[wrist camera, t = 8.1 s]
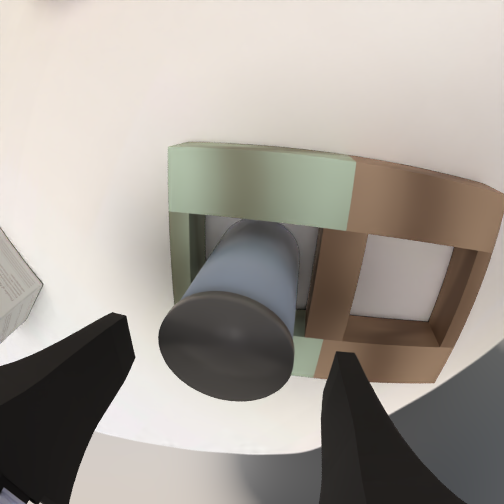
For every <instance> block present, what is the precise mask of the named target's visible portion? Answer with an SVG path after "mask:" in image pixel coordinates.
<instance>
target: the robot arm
mask: <svg viewBox="0 0 504 504" xmlns="http://www.w3.org/2000/svg"><path fill="white" fill-rule="evenodd" d="M134 359H135V354H134V349H133V345H132V341H131V336H130V332H129V327H128V322H127V317H126V316H125V315H121V314H117V313H113V312H112V313H110V314H108V315H106V316H104V317H102V318H100V319H98V320H97V321H95V322H93V323H91V324H89V325H88V326H86V327H84V328H82V329H81V330H79V331H77V332H75V333H74V334H72V335H70V336H68V337H66V338H65V339H63V340H61V341H59V342H57V343H55V344H53V345H51V346H49V347H47V348H45V349H43V350H41V351H39V352H37V353H35V354H33V355H30V356H28V357H25V358H23V359H20V360H18V361H15V362H12V363H9V364H6V365H3V366H0V504H27V503H28V501H29V500H30V501H31V502H33V503H34V504H39V503H40V502H41V503H42V504H69V500H70V496H71V492H72V488H73V484H74V482H75V478H76V475H77V472H78V469H79V466H80V463H81V461H82V458H83V456H84V453H85V450H86V448H87V446H88V443H89V441H90V439H91V437H92V434H93V432H94V430H95V428H96V427H97V425H98V423H99V421H100V420H101V418H102V417H103V415H104V413H105V412H106V410H107V409H108V407H109V405H110V404H111V402H112V401H113V399H114V397H115V396H116V394H117V393H118V391H119V389H120V388H121V386H122V385H123V383H124V381H125V380H126V377H127V375H128V373H129V371H130V369H131V366H132V364H133V362H134ZM321 442H322V484H321V493H320V501H319V504H466V503H465V502H464V501H462V500H461V499H460V498H458V497H457V496H456V495H455V494H454V493H452V492H451V491H450V490H449V489H448V488H447V487H446V486H445V485H443V484H442V483H441V482H440V481H439V480H438V479H437V477H436V476H435V475H434V474H433V473H432V472H431V471H430V470H429V469H428V468H427V467H426V466H425V465H424V464H423V463H422V462H421V461H420V459H419V458H418V457H417V456H416V454H415V453H414V452H413V451H412V449H411V448H410V447H409V445H408V444H407V443H406V442H405V440H404V439H403V437H402V436H401V434H400V433H399V432H398V430H397V429H396V427H395V426H394V424H393V422H392V421H391V419H390V418H389V416H388V414H387V413H386V411H385V409H384V408H383V406H382V404H381V402H380V401H379V399H378V397H377V395H376V394H375V392H374V390H373V388H372V386H371V384H370V382H369V380H368V378H367V376H366V374H365V372H364V370H363V368H362V366H361V364H360V362H359V360H358V358H357V356H356V354H355V353H352V352H341V351H336V353H335V356H334V360H333V363H332V366H331V369H330V372H329V376H328V379H327V382H326V385H325V388H324V391H323V400H322V412H321Z"/></svg>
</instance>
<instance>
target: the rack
mask: <svg viewBox="0 0 504 504" xmlns="http://www.w3.org/2000/svg"><path fill="white" fill-rule="evenodd" d="M168 203H169V231H170V251H171V267H172V281H173V294H174V305H175V304H176V303H178V302H179V301H180V300H181V298H182V297H183V295H184V294H185V292H186V291H187V289H188V288H189V286H190V285H191V283H192V282H193V280H194V279H195V277H196V276H197V274H198V273H199V271H200V270H201V268H202V267H203V265H204V264H205V215H213V216H223V217H232V218H242V219H251V220H261V221H269V222H278V223H287V224H295V225H304V226H312V227H319V231H318V238H317V245H316V252H315V258H314V265H313V271H312V277H311V283H310V289H309V295H308V301H307V306H306V310H299V309H296V312H295V323H294V334H293V342H294V350H295V354H294V364H293V370H292V373H291V375H293V376H301V377H311V378H321V379H328V376H329V372H330V369H331V366H332V363H333V360H334V356H335V353H336V351H341V352H352V353H355V354H356V356H357V358H358V360H359V362H360V364H361V366H362V368H363V370H364V372H365V374H366V376H367V378H368V380H369V382H380V383H435V381H436V379H437V377H438V376H439V374H440V372H441V370H442V369H443V367H444V365H445V363H446V361H447V359H448V357H449V356H450V354H451V352H452V350H453V348H454V346H455V344H456V342H457V340H458V338H459V336H460V333H461V331H462V329H463V327H464V325H465V323H466V320H467V318H468V316H469V314H470V311H471V309H472V307H473V304H474V302H475V299H476V297H477V294H478V292H479V289H480V287H481V284H482V281H483V279H484V276H485V273H486V270H487V267H488V265H489V262H490V259H491V255H492V252H493V249H494V246H495V243H496V239H497V236H498V232H499V229H500V225H501V221H502V217H503V213H504V194H503V193H501V192H499V191H497V190H495V189H493V188H491V187H489V186H487V185H485V184H483V183H479V182H476V181H472V180H468V179H464V178H460V177H456V176H452V175H448V174H444V173H440V172H436V171H431V170H427V169H422V168H417V167H412V166H408V165H403V164H397V163H392V162H387V161H381V160H375V159H369V158H363V157H357V156H350V155H344V154H337V153H329V152H321V151H313V150H305V149H295V148H285V147H274V146H262V145H249V144H232V143H210V142H186V143H181V144H177V145H173V146H169V147H168ZM368 234H373V235H380V236H387V237H394V238H401V239H408V240H414V241H421V242H428V243H434V244H440V245H447V246H453V247H454V250H453V254H452V257H451V260H450V263H449V267H448V270H447V273H446V276H445V279H444V282H443V285H442V288H441V290H440V293H439V296H438V299H437V301H436V304H435V307H434V309H433V312H432V314H431V317H430V319H429V322H423V321H409V320H396V319H385V318H373V317H363V316H353V315H349V314H350V310H351V306H352V303H353V299H354V295H355V291H356V287H357V283H358V278H359V274H360V270H361V265H362V261H363V256H364V252H365V247H366V242H367V237H368Z"/></svg>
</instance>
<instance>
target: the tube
mask: <svg viewBox="0 0 504 504" xmlns="http://www.w3.org/2000/svg"><path fill="white" fill-rule="evenodd" d="M299 260H300V254H299V248H298V245H297V242H296V240H295V238H294V237H293V235H292V234H291V233H290V232H289V231H288V230H287V229H286V228H285V227H284V226H283V225H281V224H279V223H278V222H269V221H261V220H251V219H244V220H241V221H239V222H237V223H235V224H234V225H232V226H231V227H230V228H229V229H228V230H227V232H226V233H225V234H224V236H223V237H222V239H221V240H220V242H219V243H218V245H217V246H216V247H215V249H214V250H213V252H212V253H211V255H210V256H209V258H208V259H207V261H206V262H205V264H204V265H203V267H202V268H201V270H200V271H199V273H198V274H197V276H196V277H195V279H194V280H193V282H192V283H191V285H190V286H189V288H188V289H187V291H186V292H185V294H184V295H183V297H182V298H181V300H180V301H179V302H178V303H176V304H175V305H174V306H173V307H172V309H171V310H170V311H169V313H168V314H167V316H166V317H165V319H164V320H163V322H162V324H161V327H160V330H159V336H158V339H159V347H160V351H161V354H162V356H163V358H164V360H165V362H166V364H167V365H168V367H169V368H170V369H171V370H172V372H173V373H174V374H175V375H176V376H177V377H178V378H179V379H180V380H182V381H183V382H184V383H186V384H187V385H188V386H190V387H192V388H193V389H195V390H197V391H199V392H201V393H203V394H206V395H208V396H211V397H214V398H218V399H222V400H228V401H252V400H257V399H261V398H264V397H267V396H269V395H271V394H273V393H275V392H276V391H278V390H279V389H280V388H282V387H283V386H284V385H285V383H286V382H287V381H288V379H289V378H290V376H291V373H292V370H293V364H294V354H295V350H294V342H293V334H294V323H295V312H296V300H297V287H298V274H299Z"/></svg>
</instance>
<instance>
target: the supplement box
mask: <svg viewBox="0 0 504 504" xmlns="http://www.w3.org/2000/svg"><path fill="white" fill-rule="evenodd" d="M41 287H42V283H41V282H40V281H39V279H38V278H37V277H36V276H35V274H34V273H33V272H32V271H31V269H30V268H29V267H28V266H27V264H26V263H25V262H24V260H23V259H22V258H21V256H20V255H19V254H18V252H17V251H16V249H15V248H14V247H13V245H12V244H11V243H10V241H9V240H8V239H7V237H6V236H5V234H4V233H3V231H2V230H1V229H0V344H1V343H2V342H3V341H4V340H5V339H6V338H7V337H8V336H9V335H10V334H11V333H12V332H13V331H15V330H16V329H17V328H18V327H19V326H20V325H21V324H22V323H23V322H24V321H25V320H26V319H27V317H28V315H29V312H30V310H31V308H32V306H33V304H34V302H35V299H36V297H37V295H38V293H39V291H40V289H41Z"/></svg>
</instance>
